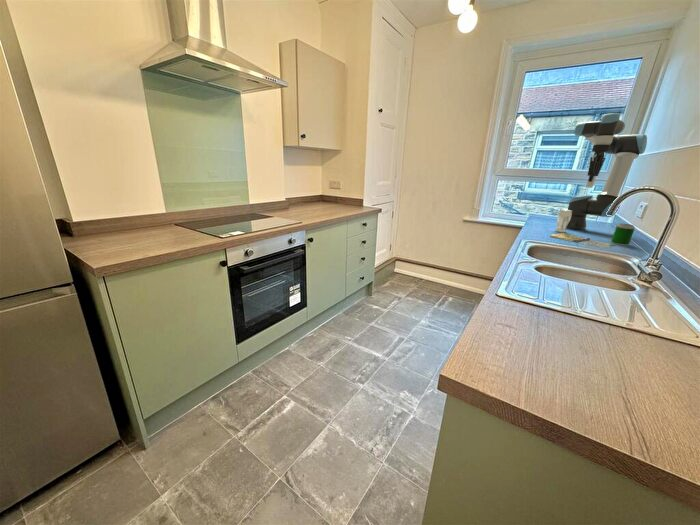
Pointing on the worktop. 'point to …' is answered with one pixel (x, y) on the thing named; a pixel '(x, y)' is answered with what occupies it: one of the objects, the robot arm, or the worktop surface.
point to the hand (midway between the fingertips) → (589, 187)
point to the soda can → (623, 234)
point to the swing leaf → (568, 237)
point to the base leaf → (596, 243)
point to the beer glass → (563, 220)
